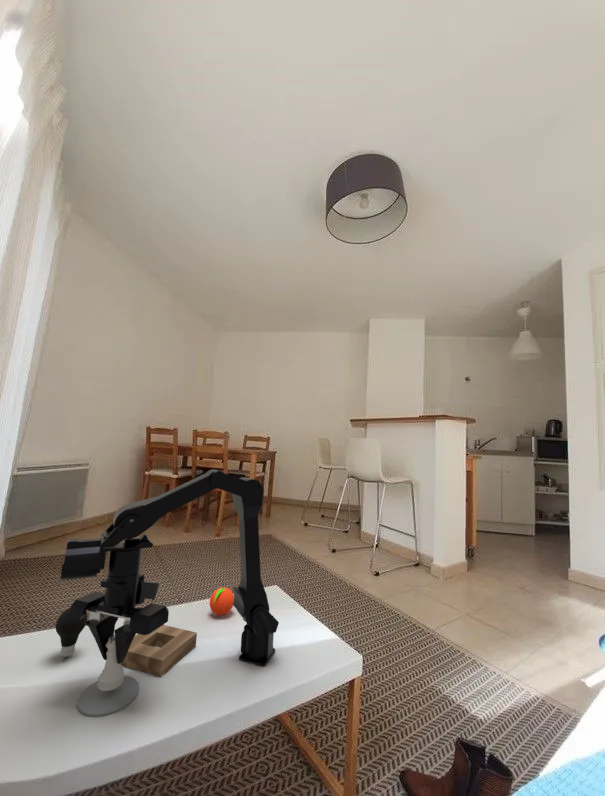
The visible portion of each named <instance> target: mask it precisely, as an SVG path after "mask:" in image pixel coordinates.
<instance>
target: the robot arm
mask: <svg viewBox="0 0 605 796" xmlns="http://www.w3.org/2000/svg"><path fill="white" fill-rule="evenodd" d="M216 489H217V490H222V491H224V492H226V493H229V494H231V495H232V500H233V505H234V508H235V510H236V511H235V512H237V513H236V514H237V516H238V526H239V527H238V529H239V553H240V555H239V556H240V558H239V559H240V582H239V585H238V586H235V587H232V593H233V595H234V602H233V608H235V610H236V611H237V613H238V614H239V615H240V617H241V618H242V620H243V621H244V622H245V623H246V624H245V625H244V626H243V631H242V632H241V637H240V639H241V640H240V655H239V656H238V660H239V661H242V662H246V663H250V664H254V665H257V666H258V665H259V666H263V667H265V666H267V664H268V663H269V661H270V660H271V659H272V657H273V655H274V654H275V653H276V648H274V635H275V634H274V633H277V630H278V627H279V623H280V622H279V621H278V620H277V618H276V617H274V616H273V615H272V613H271V612H270V604H269V600H268V595H267V592H266V589H265V587H264V583H263V582H262V581H263V580H262V572H261V571H262V570H261V548H260V530H259V529H260V528H259V516H260V513H261V510H262V508H263V503H264V495H265V493H264V492H265V489H264V485H263V484H262V483H261V482H260V481H259V480H257V479H254V478H250V477H244V476H243V477H239V478H238V477H236V476H233V475H230V474H228V473H224V472H223V471H222V470H220V469H219V470H218V469H210V470H208V471H207V472H205V473H204V474H201V475H200V476H198V477H195V478H193V479H191V480H188V481H187V482H184V483H183V484H180V485H179V486H177V487H174V488H172V489H170V490H168V491H166V492H164V493H161V494H160V495H159V494H158V495H157V496H154V497H151V498H150V497H149V498H145V499H141V500H137V501H135V502H131V503H127V504H125V505H122V506H120V507H119V508H118V509H117V510H116V512H115V513H114V516H113V518H112V519H113V520H112V523H110V525H109V526H108V527H107V528H106V529H105V531H103V532H102V534H101V535H100V537H99V538H96V537H95V538H86V539H82V538H81V539H79V538H71V539H70V538H69V539H68V540H67V543H66V550H65V554H64V558H63V561H62V565H61V571H60V581H69V580H77V579H83V578H84V579H85V578H93V577H97V576H98V574H100V573H101V571H102V570H105V564H106V557H107V556H106V555H107V552H109V558H108V563H107V565H108V566H107V571H106V572H107V574H106V578H105V579H103V580H101V581H100V586H99V587H101V588H104V589H105V590H104V593H103V592H99V591H93V592H90V593H88V594H86V595H84V596H82V597H79V598H76V599H75V600H74V601H73V603H72V604H71V606H70V607H69V608H70V615H69V617H71V618H75V619H81V618H83V617H84V616H85V615H86V612H87V611H88V614H89V620H88V619H87V622H86V625H85V627H86V626H87V627H88V629H89V631H90V633H91V634H92V636H93V638H94V641H95V642H96V646H97V647H98V649H99V652H100V654H101V657H102V659H103V660H104V661H106V659H107V655H106V652H107V651H108V648H107V647H106V643H107V642H108V641H109V637H112V636H113V635H115V645H116V658H117V663H118V664H120V663H122V662H123V661H124V659H125V657H126V654H127V652H128V650H129V647H130V645H131V643H132V641H133V638H134V637H135V636H136V635H137V634H141V635H148V634H150V633H152V632H153V631H155V630H156V629H157V628H159V627H160V626H162V625H165V624H166V623H167V622H169V615H170V611H169V608H168V607H167V606H166V605H161V604H157V603H152V602H151V603H149V604H148V605H145V606H143V607H137V605H142V604H143V603H145V600H151V601H154V600H156V596H157V593H158V590H159V588H160V587H159V586H160V582H155V581H150V580H145V575H144V574H140V572H141V564H142V555H143V549H148V548H153V547H154V543H153V540H151V539H150V538H149V537H148V536H147V534H146V533H145V532H146V531H147V530H149V529H150V528H151V527H153V526H154V525H155V524H156V523H157V522H158V521H160V520H161V519H162V518H163V517H164V516H166V515H167V514H169V513H171V512H173V511H175V510H177V509H179V508H181V507H183V506H185V505H187V504H189V503H191V502H193V501H195V500H197V499H199V498H200V497H202V496H205V495H206V494H209V493H210V492H212V491H214V490H216ZM119 619H123V620H124V621H123V624H122V625H121V626H119V627H118V628H116V624H117V622H118V620H119ZM115 628H116V629H115Z"/></svg>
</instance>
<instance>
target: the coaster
mask: <svg viewBox="0 0 605 796" xmlns="http://www.w3.org/2000/svg"><path fill="white" fill-rule="evenodd" d="M98 682H99V680H97V681H94V682H93V683H91V684H90V685H88V686H87V687H86V688H84V689H83V690H82V691H81V692H80V694H79V695H78V697H77V700H76V701H77V702H76V710H77V711H78V712H79V714H81V715H83V716H85V717H92V718H97V717H105V716H108V715H112V714H116V713H117V712H119V711H121V710H123V709H125V708H127V707H128V706H129V705H131V703H133V702H134V700H135V699H136V698H137V696H138V694H139V688H140V685H139V682H138V680H137V679H135V678H134V677H132V676H129V675H124V681H123V683H122V684H121V685H120V686H119V687H118V688H117V689H115V690H112V691H107V692H104V691H101V690H100V689H99V688H98V687H97V684H98Z"/></svg>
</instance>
